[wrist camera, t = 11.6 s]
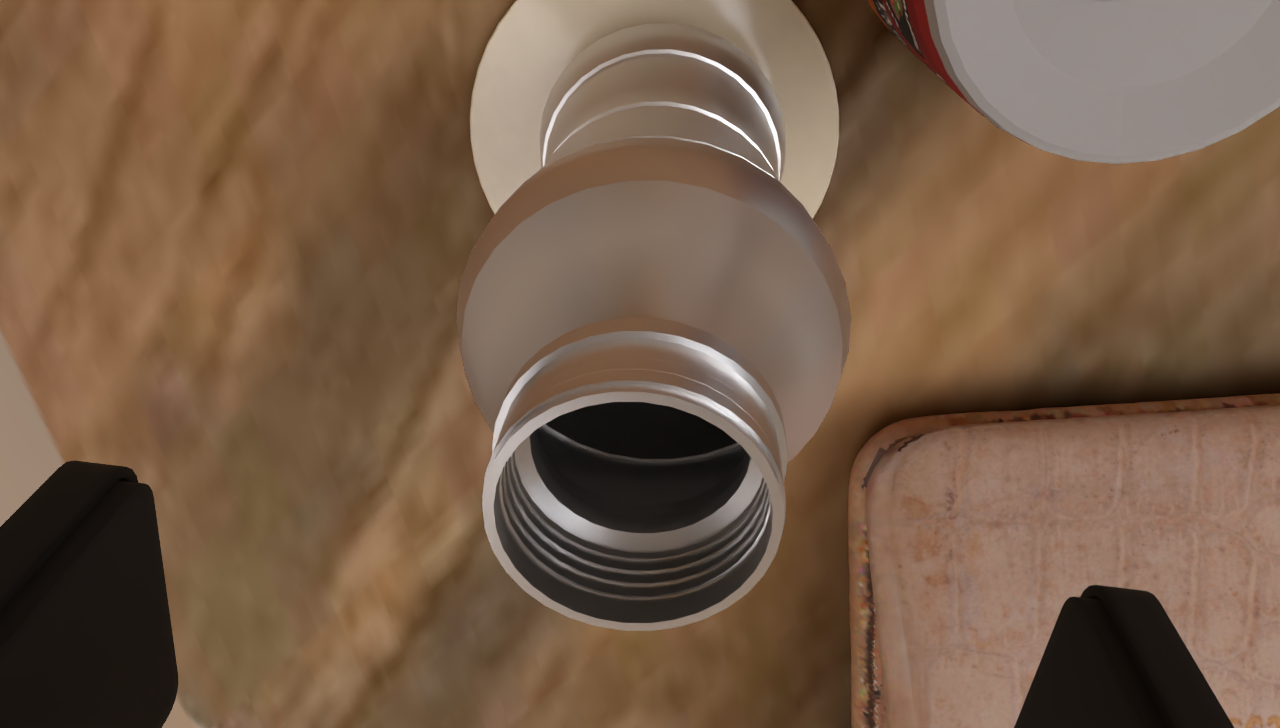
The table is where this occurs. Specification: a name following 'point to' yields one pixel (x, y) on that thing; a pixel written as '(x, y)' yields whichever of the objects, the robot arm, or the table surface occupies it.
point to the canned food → (1102, 68)
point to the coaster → (605, 3)
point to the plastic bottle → (650, 336)
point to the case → (1060, 549)
